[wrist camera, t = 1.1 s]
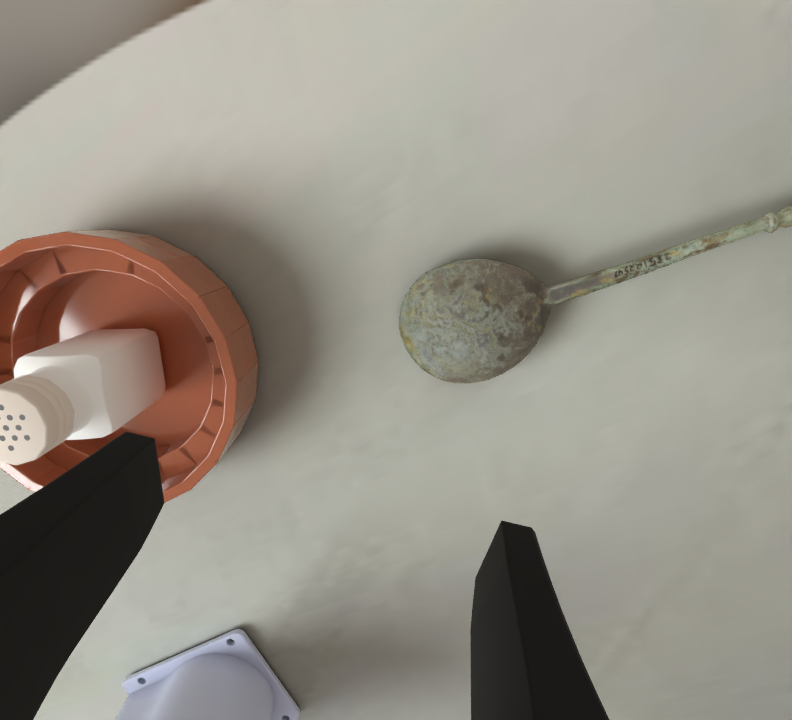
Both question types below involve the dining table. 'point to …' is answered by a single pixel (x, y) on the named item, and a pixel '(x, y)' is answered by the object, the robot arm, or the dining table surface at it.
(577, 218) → the dining table surface
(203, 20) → the dining table surface
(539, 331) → the soupspoon
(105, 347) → the pepper shaker
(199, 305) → the clay bowl
